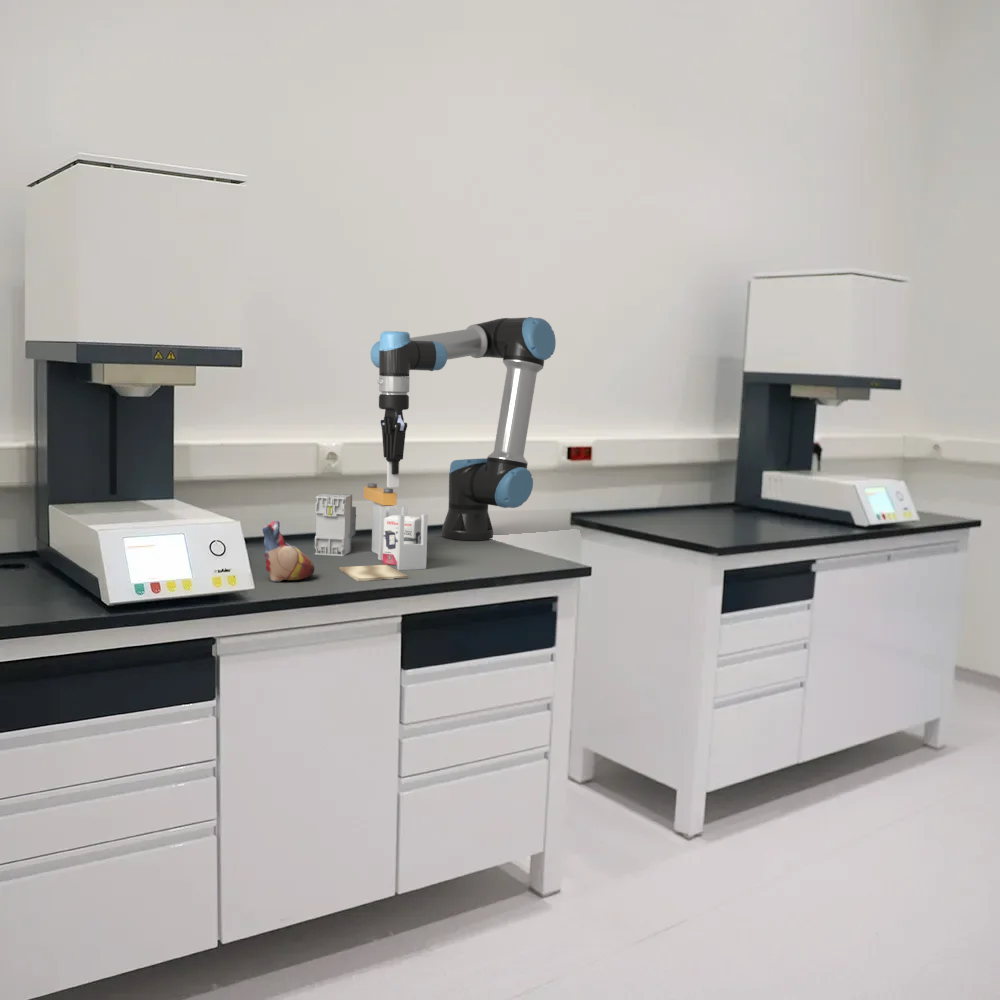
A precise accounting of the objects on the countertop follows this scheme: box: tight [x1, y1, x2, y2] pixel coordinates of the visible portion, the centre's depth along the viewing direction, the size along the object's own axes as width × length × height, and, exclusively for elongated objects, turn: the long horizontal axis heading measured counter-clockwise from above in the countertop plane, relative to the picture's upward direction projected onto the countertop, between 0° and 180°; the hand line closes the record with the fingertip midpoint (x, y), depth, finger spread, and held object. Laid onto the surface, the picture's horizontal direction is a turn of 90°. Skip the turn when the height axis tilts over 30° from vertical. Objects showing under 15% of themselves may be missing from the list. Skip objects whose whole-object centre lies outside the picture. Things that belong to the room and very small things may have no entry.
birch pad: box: [338, 564, 408, 582], centre depth 234 cm, size 12×14×1 cm
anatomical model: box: [262, 520, 315, 583], centre depth 223 cm, size 10×9×15 cm
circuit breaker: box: [314, 492, 357, 557], centre depth 262 cm, size 8×14×15 cm, turn 174°
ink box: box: [382, 514, 421, 566], centre depth 247 cm, size 8×5×12 cm, turn 72°
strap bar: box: [363, 482, 398, 506], centre depth 261 cm, size 4×15×4 cm, turn 26°
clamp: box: [371, 501, 429, 571], centre depth 252 cm, size 7×26×13 cm, turn 26°
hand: (392, 486), depth 253 cm, fingers closed
